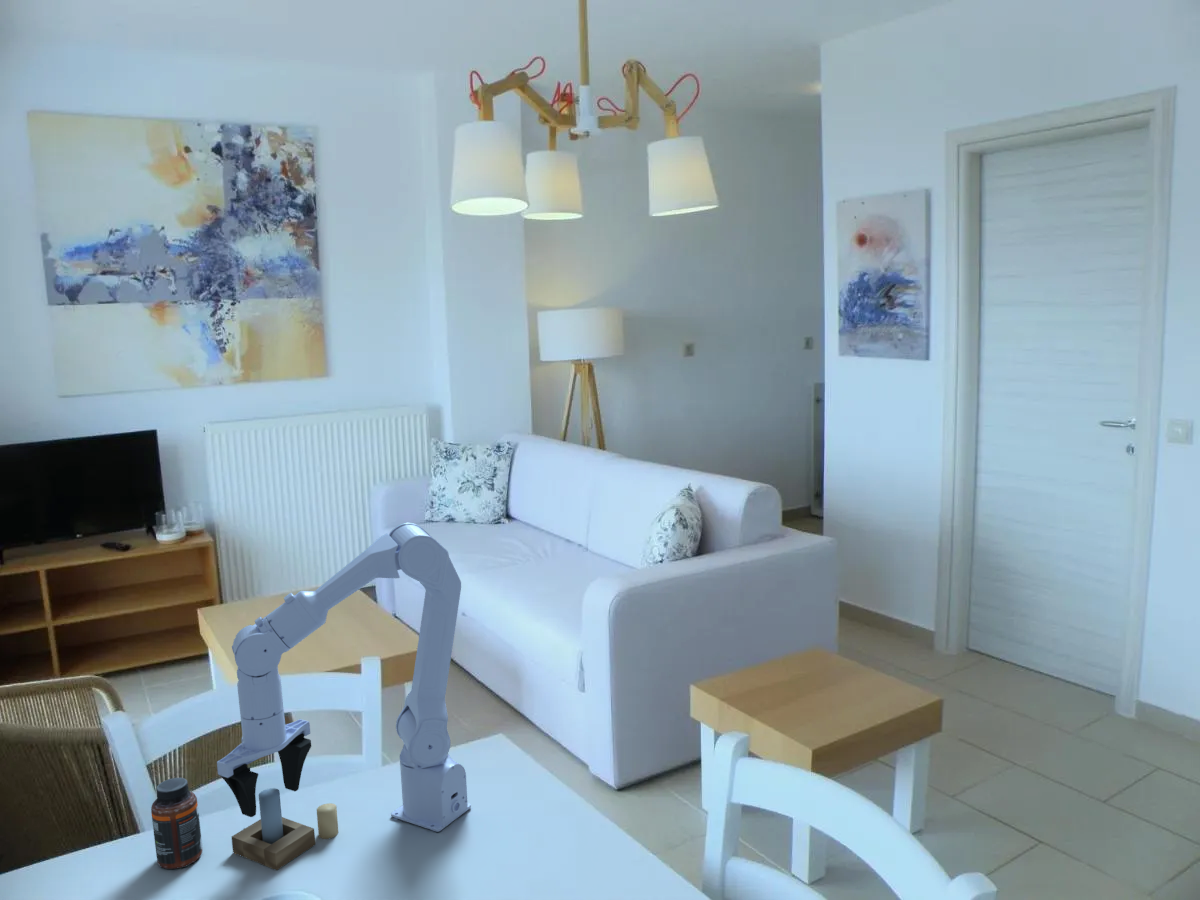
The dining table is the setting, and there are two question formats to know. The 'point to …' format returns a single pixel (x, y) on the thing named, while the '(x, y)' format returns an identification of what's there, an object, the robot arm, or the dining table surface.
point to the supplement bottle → (176, 824)
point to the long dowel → (270, 815)
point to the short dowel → (327, 821)
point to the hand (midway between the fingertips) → (270, 801)
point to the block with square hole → (274, 844)
